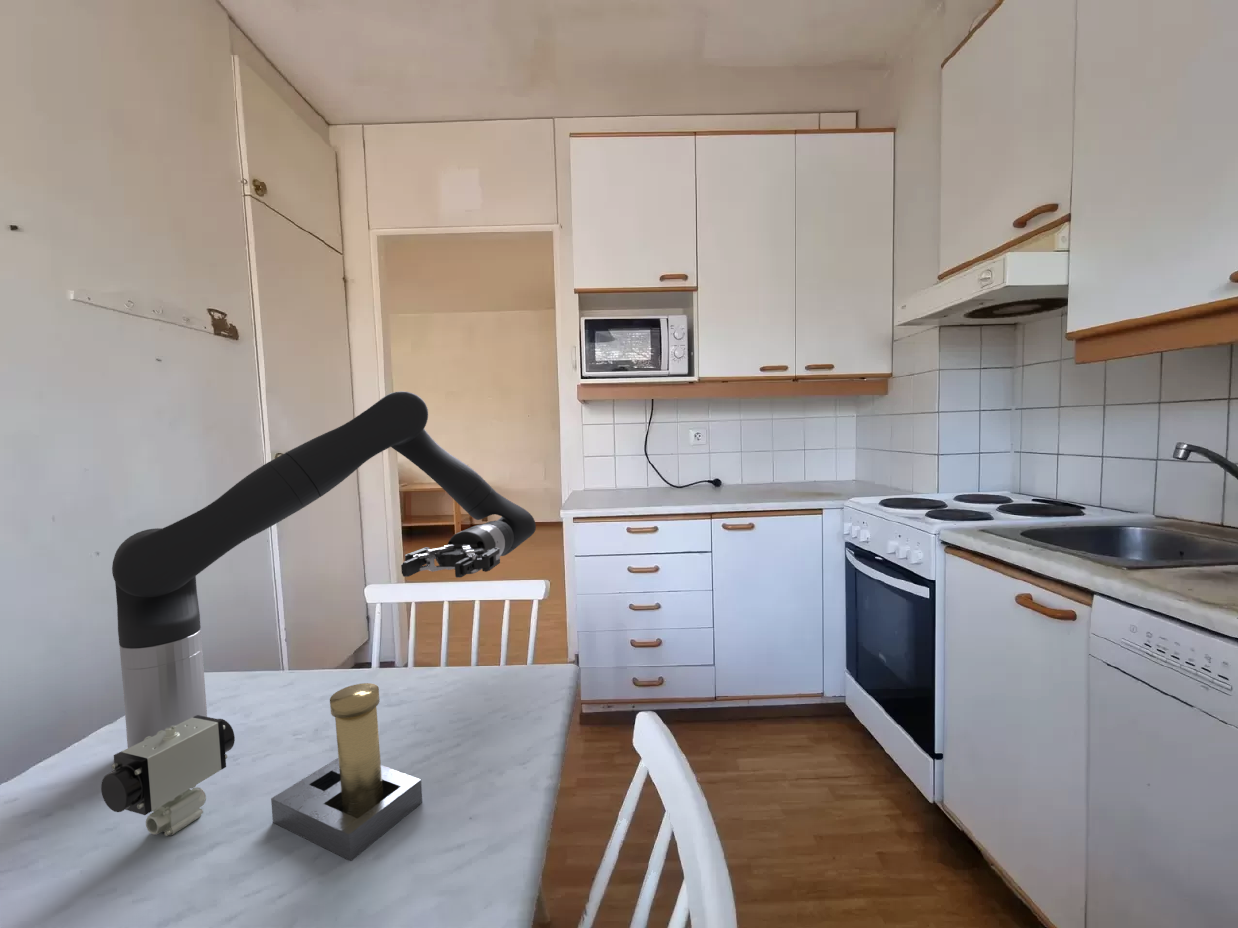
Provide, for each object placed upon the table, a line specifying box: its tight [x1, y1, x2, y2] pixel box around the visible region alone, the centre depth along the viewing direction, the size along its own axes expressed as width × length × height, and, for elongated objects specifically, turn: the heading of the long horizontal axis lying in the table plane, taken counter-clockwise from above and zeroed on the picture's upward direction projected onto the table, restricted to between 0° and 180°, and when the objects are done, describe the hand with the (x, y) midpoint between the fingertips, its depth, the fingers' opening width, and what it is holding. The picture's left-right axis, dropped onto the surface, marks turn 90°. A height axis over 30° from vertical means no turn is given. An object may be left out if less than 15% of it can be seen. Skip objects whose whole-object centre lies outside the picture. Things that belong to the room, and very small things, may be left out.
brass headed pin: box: [329, 682, 383, 819], centre depth 63 cm, size 5×5×15 cm
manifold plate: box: [270, 757, 423, 862], centre depth 65 cm, size 14×10×3 cm
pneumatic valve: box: [100, 715, 236, 837], centre depth 63 cm, size 6×12×12 cm, turn 162°
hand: (430, 570), depth 78 cm, fingers open, 8 cm apart
